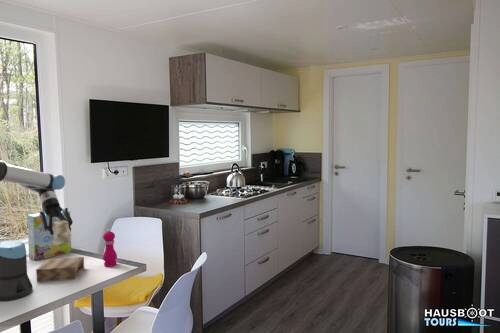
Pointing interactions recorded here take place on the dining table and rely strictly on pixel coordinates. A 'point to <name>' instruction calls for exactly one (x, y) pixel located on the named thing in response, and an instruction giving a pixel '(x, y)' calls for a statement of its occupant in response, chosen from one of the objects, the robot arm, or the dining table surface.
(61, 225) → the birch block
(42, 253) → the snack box
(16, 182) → the robot arm
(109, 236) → the pepper mill
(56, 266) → the brown wooden slab
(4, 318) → the dining table surface
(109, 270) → the dining table surface
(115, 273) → the dining table surface
